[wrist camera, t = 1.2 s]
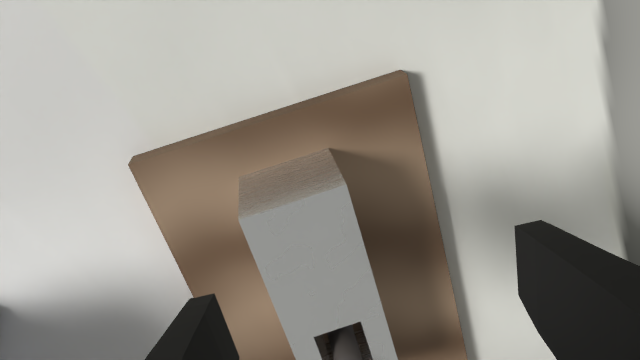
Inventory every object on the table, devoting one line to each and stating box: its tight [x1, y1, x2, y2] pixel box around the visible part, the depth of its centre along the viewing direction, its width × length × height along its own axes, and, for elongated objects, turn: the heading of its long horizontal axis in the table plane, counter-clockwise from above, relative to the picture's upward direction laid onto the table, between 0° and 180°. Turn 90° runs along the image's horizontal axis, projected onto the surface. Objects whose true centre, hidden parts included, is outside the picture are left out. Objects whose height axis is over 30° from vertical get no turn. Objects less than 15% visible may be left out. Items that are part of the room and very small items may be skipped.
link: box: [238, 148, 398, 360], centre depth 21 cm, size 11×4×4 cm, turn 16°
